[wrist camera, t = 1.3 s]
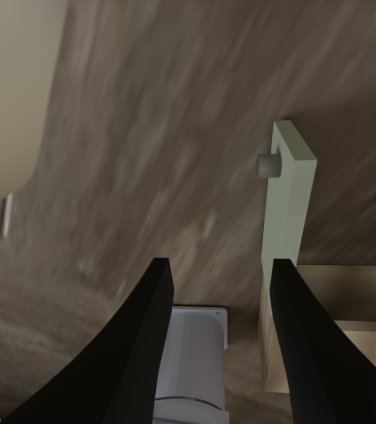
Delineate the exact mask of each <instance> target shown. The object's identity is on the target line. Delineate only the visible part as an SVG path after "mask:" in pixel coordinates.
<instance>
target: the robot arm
mask: <svg viewBox="0 0 376 424" xmlns="http://www.w3.org/2000/svg"><path fill="white" fill-rule="evenodd" d="M269 294H270V302H271V310H272V317H273V321H274V325H275V329H276V334H277V338H278V342H279V346H280V350H281V355H282V359H283V363H284V367H285V371H286V376H287V381H288V387H289V394H290V401H291V407H292V414H293V422H294V424H376V366H375V365H374V364H373V363H372V362H371V361H370V360H369V359H368V358H367V357H366V356H365V355H364V354H363V353H362V352H361V351H360V350H359V349H358V348H357V346H356V345H355V344H354V343H353V342H352V341H351V340H350V339H349V338H348V337H347V335H346V334H345V333H344V332H343V331H342V330H341V328H340V327H339V326H338V325H337V324H336V322H335V321H334V320H333V319H332V318H331V316H330V315H329V314H328V313H327V311H326V310H325V309H324V307H323V306H322V305H321V303H320V302H319V301H318V299H317V298H316V297H315V295H314V294H313V293H312V291H311V290H310V288H309V287H308V286H307V284H306V283H305V281H304V280H303V278H302V277H301V275H300V274H299V272H298V270H297V269H296V267H295V266H294V264H293V262H292V261H291V260H290V259H275V258H273V266H272V274H271V282H270V289H269ZM173 297H174V285H173V280H172V274H171V269H170V263H169V258H154V259H153V260H152V261H151V263H150V265H149V266H148V268H147V270H146V271H145V273H144V274H143V276H142V277H141V279H140V280H139V282H138V283H137V285H136V286H135V288H134V289H133V291H132V292H131V293H130V295H129V296H128V298H127V299H126V300H125V302H124V303H123V304H122V306H121V307H120V308H119V309H118V311H117V312H116V313H115V314H114V316H113V317H112V318H111V319H110V321H109V322H108V323H107V324H106V325H105V326H104V328H103V329H102V330H101V331H100V332H99V333H98V334H97V335H96V337H95V338H94V339H93V340H92V341H91V342H90V343H89V344H88V345H87V346H86V347H85V348H84V349H83V350H82V351H81V352H80V353H79V354H78V355H77V356H76V357H75V358H74V359H73V360H72V361H71V362H70V363H69V364H68V365H67V366H66V367H64V368H63V369H62V370H61V371H60V372H59V373H58V374H57V375H55V376H54V377H53V378H52V379H51V380H50V381H49V382H48V383H47V384H45V385H44V386H43V387H42V388H41V389H40V390H38V391H37V392H36V393H35V394H34V395H32V396H31V397H30V398H29V399H27V400H26V401H25V402H23V403H22V404H21V405H20V406H18V407H17V408H16V409H15V410H13V411H12V412H11V413H10V414H8V415H7V416H6V417H5V418H3V419H2V420H1V421H0V424H229V412H227V411H225V387H224V349H226V348H227V347H228V346H227V309H225V308H217V307H184V306H173Z"/></svg>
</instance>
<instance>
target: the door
mask: <svg viewBox="0 0 376 424" xmlns="http://www.w3.org/2000/svg"><path fill="white" fill-rule="evenodd" d="M316 165H317V159H316V157H315V156H314V154H313V153H312V151H311V150H310V148H309V147H308V145H307V144H306V142H305V141H304V140H303V138H302V137H301V135H300V134H299V132H298V131H297V129H296V128H295V126H294V125H293V124H292V122H291V121H290V120H282V121H274V126H273V136H272V147H271V154H259V155H258V158H257V175H258V178H269V179H268V190H267V201H266V211H265V222H264V233H263V243H262V254H261V261H262V267H263V273H264V279H265V285H266V291H267V296H268V302H269V308H270V314H271V318H273V317H272V310H271V302H270V294H269V289H270V282H271V274H272V266H273V258H275V259H290V260H291V261H292V262H293V264H294V266H295V267H296V263H297V258H298V254H299V249H300V244H301V239H302V234H303V229H304V224H305V219H306V214H307V209H308V204H309V199H310V194H311V189H312V184H313V179H314V174H315V169H316Z"/></svg>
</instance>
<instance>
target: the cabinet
mask: <svg viewBox="0 0 376 424" xmlns="http://www.w3.org/2000/svg"><path fill="white" fill-rule="evenodd" d="M296 269H297V270H298V272H299V274H300V275H301V277H302V278H303V280H304V281H305V283H306V284H307V286H308V287H309V288H310V290H311V291H312V293H313V294H314V295H315V297H316V298H317V299H318V301H319V302H320V303H321V305H322V306H323V307H324V309H325V310H326V311H327V313H328V314H329V315H330V316H331V318H332V319H333V320H334V321H335V322H336V324H337V325H338V326H339V327H340V328H341V330H342V331H343V332H344V333H345V334H346V335H347V337H348V338H349V339H350V340H351V341H352V342H353V343H354V344H355V345H356V346H357V348H358V349H359V350H360V351H361V352H362V353H363V354H364V355H365V356H366V357H367V358H368V359H369V360H370V361H371V362H372V363H373V364H374V365H375V366H376V266H357V265H296ZM257 331H258V340H259V348H260V357H261V365H262V373H263V382H264V390H265V391H266V392H281V393H289V387H288V381H287V376H286V371H285V367H284V363H283V359H282V355H281V350H280V346H279V342H278V338H277V334H276V329H275V325H274V321H273V318H271V314H270V308H269V302H268V296H267V291H266V285H265V279H264V273H263V282H262V291H261V301H260V310H259V320H258V329H257Z"/></svg>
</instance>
